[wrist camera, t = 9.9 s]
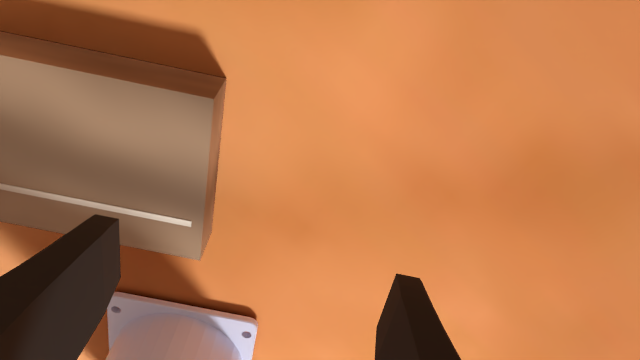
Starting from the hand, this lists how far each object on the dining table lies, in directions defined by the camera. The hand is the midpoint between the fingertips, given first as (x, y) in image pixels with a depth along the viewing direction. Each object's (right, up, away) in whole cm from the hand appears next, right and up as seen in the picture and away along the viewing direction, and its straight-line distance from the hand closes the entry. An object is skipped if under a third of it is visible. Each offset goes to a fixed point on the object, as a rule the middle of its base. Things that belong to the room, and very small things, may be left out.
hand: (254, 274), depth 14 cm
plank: (-14, +5, +9) cm, 17 cm away
